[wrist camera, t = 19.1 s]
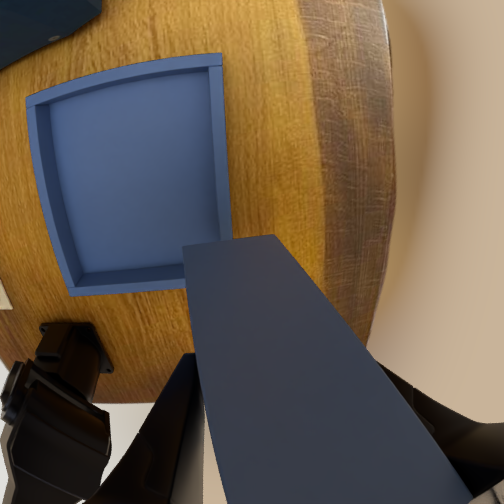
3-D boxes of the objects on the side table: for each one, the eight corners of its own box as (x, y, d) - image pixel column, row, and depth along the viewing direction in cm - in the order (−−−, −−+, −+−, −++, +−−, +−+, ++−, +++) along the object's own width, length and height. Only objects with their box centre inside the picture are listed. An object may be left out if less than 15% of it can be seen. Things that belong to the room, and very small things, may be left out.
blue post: (273, 307, 15) (397, 534, 4) (193, 320, 14) (261, 585, 3) (274, 233, 13) (476, 496, 2) (181, 245, 12) (261, 603, 2)
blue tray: (233, 264, 22) (236, 283, 20) (81, 278, 21) (69, 296, 19) (220, 60, 15) (222, 52, 13) (44, 97, 14) (25, 97, 12)
